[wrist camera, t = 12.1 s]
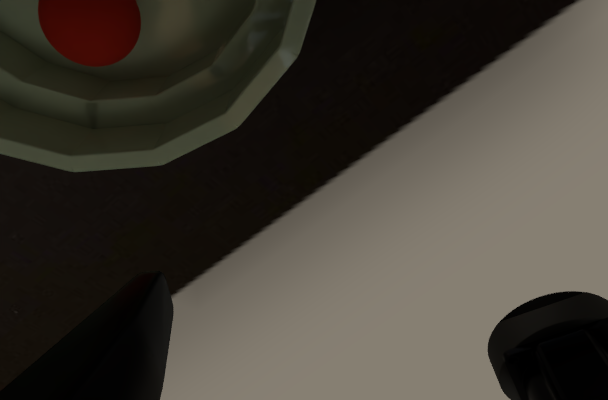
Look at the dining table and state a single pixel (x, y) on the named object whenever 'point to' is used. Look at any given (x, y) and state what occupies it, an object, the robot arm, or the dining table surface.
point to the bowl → (143, 82)
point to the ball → (91, 29)
